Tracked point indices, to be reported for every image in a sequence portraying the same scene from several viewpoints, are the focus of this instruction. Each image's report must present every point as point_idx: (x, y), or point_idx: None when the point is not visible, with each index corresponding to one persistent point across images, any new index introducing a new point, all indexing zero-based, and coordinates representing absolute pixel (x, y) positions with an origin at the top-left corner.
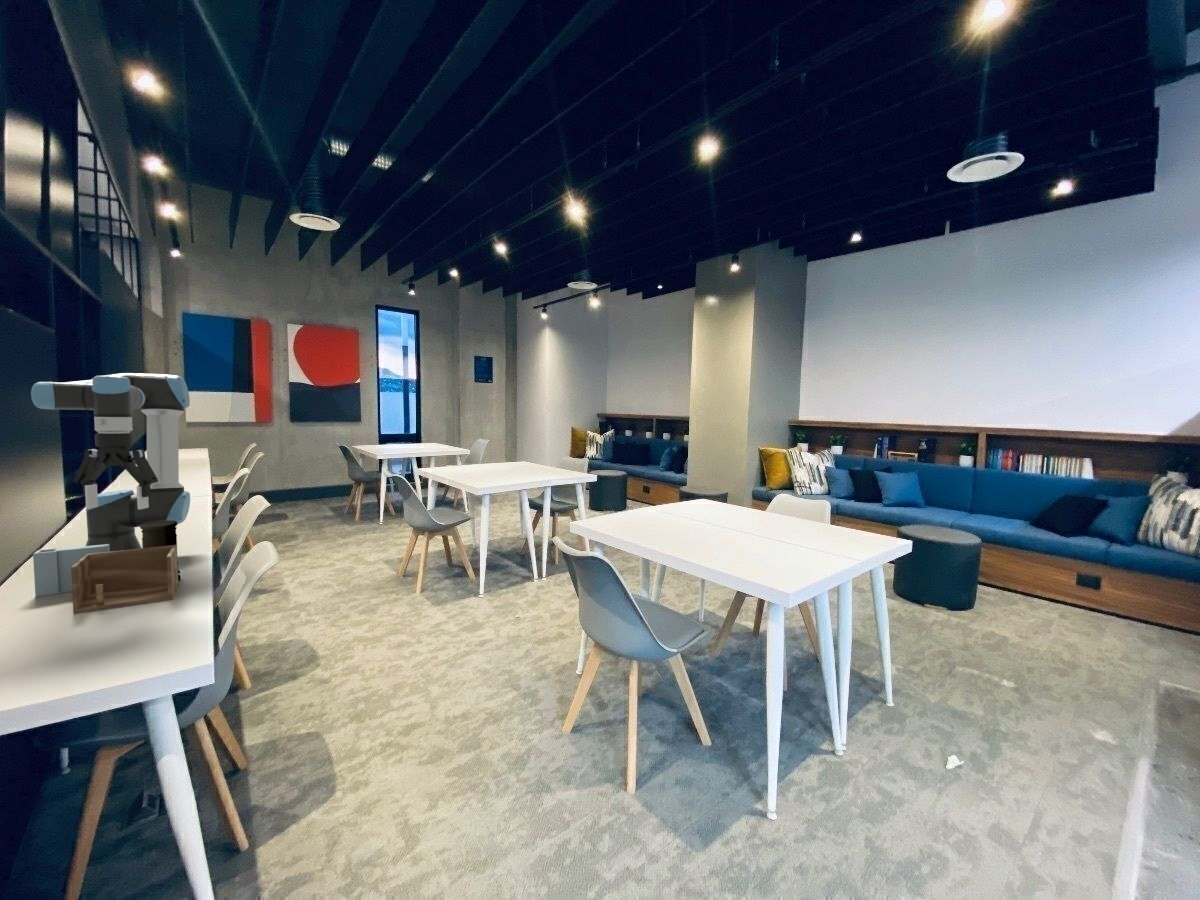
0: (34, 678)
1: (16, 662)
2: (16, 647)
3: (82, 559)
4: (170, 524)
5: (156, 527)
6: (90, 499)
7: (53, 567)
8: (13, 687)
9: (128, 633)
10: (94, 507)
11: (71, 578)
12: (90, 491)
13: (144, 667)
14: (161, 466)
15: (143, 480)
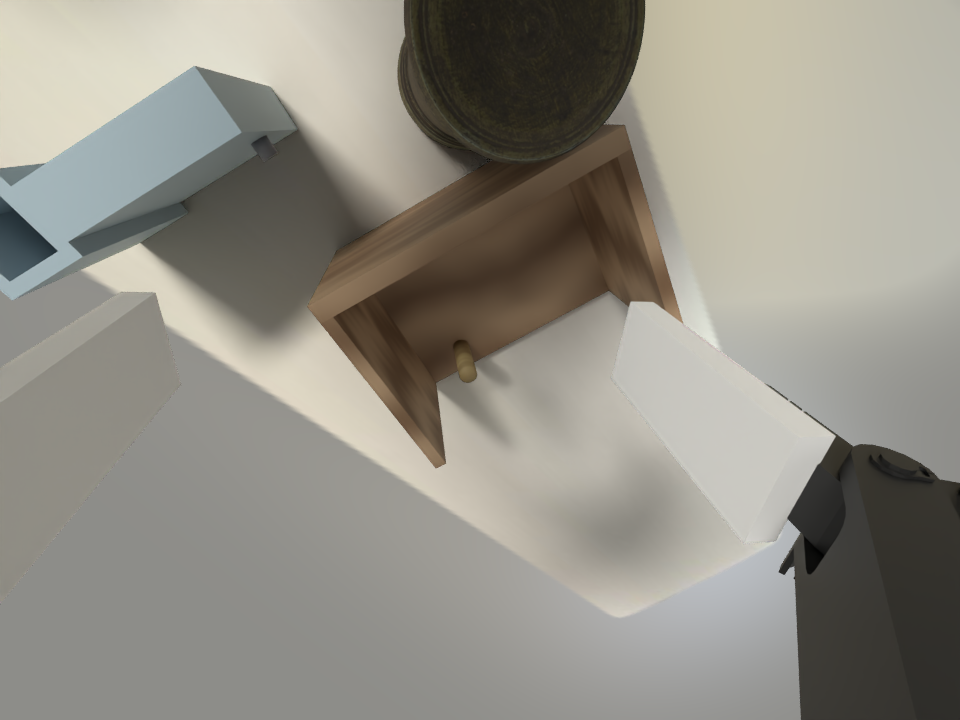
0: (592, 579)
1: (526, 553)
2: (475, 518)
3: (382, 387)
4: (631, 73)
5: (568, 151)
6: (126, 419)
7: (122, 242)
8: (584, 595)
9: (628, 466)
10: (165, 331)
11: (186, 192)
12: (61, 489)
13: (713, 550)
14: None
15: (860, 526)
